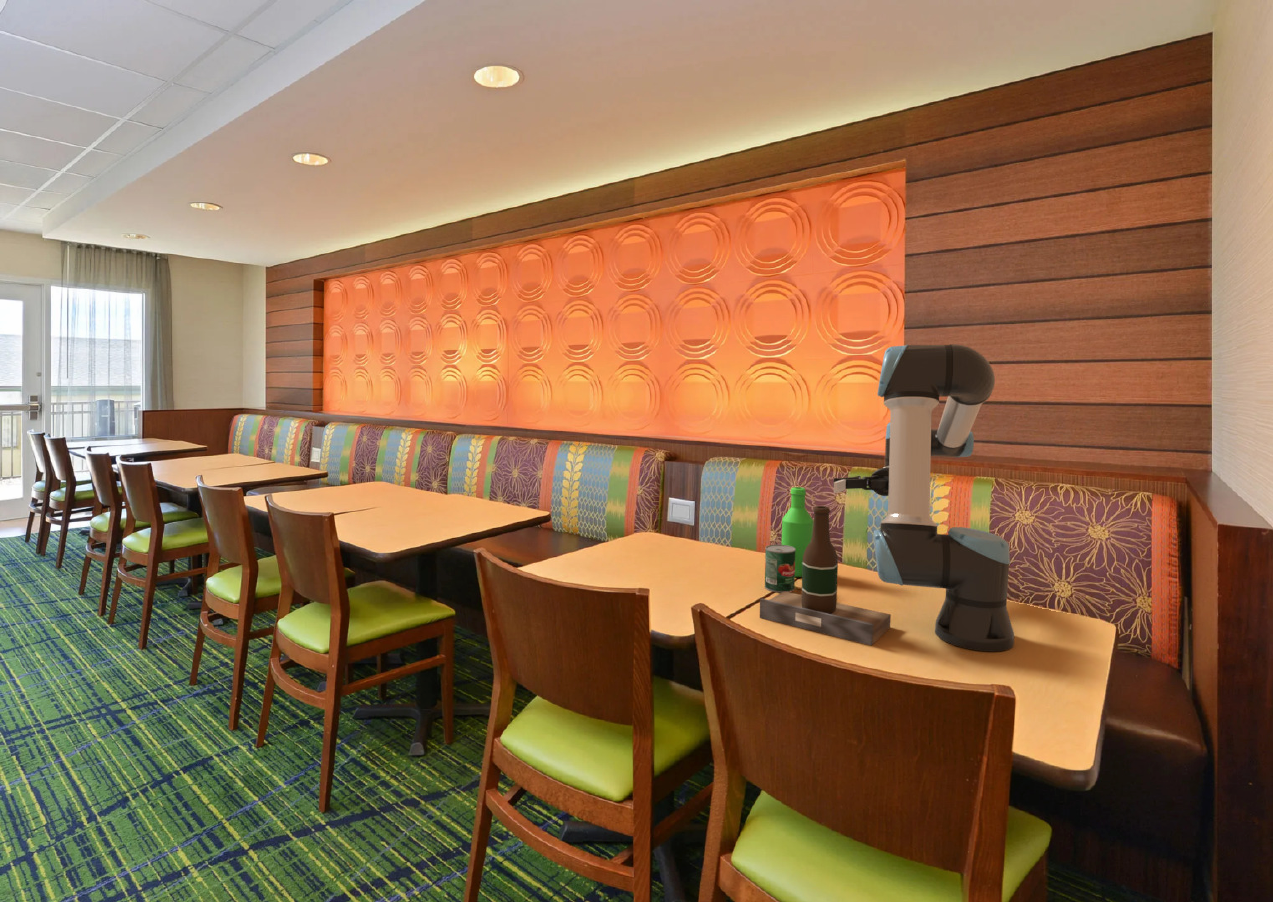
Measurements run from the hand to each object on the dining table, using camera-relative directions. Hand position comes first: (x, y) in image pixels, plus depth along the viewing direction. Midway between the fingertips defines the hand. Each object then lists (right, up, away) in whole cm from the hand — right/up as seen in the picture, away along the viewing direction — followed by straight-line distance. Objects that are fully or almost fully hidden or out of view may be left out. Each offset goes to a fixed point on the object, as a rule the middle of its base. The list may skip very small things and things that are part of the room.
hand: (862, 490), depth 158 cm
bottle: (-9, -26, +28) cm, 39 cm away
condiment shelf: (-12, -30, -9) cm, 34 cm away
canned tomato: (-17, -27, +15) cm, 36 cm away
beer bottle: (-13, -27, -10) cm, 32 cm away
